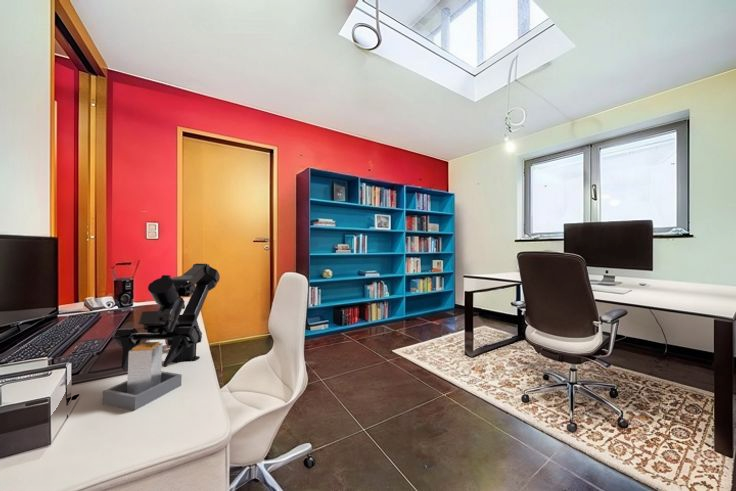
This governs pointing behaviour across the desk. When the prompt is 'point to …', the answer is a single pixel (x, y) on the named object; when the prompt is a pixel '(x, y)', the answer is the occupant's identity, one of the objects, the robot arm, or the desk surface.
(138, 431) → the desk surface
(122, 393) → the case
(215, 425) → the desk surface
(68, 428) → the desk surface
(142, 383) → the block
